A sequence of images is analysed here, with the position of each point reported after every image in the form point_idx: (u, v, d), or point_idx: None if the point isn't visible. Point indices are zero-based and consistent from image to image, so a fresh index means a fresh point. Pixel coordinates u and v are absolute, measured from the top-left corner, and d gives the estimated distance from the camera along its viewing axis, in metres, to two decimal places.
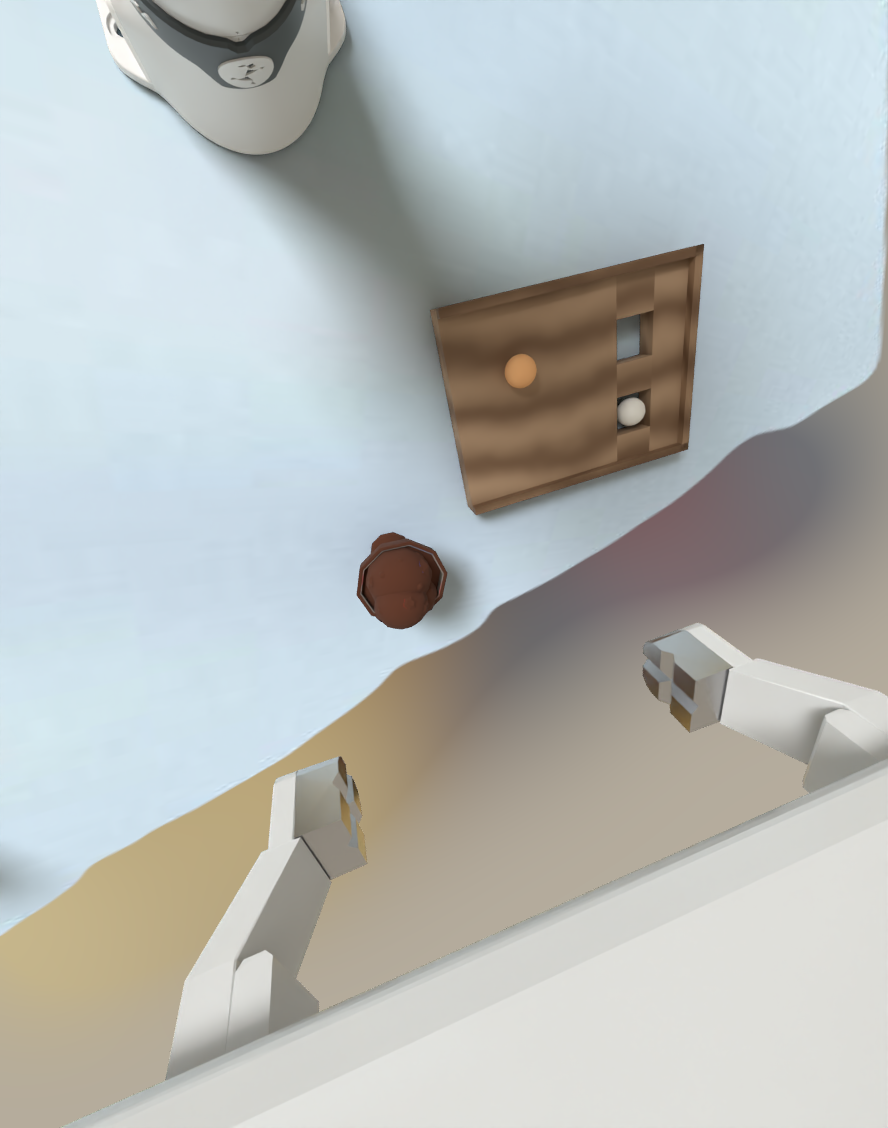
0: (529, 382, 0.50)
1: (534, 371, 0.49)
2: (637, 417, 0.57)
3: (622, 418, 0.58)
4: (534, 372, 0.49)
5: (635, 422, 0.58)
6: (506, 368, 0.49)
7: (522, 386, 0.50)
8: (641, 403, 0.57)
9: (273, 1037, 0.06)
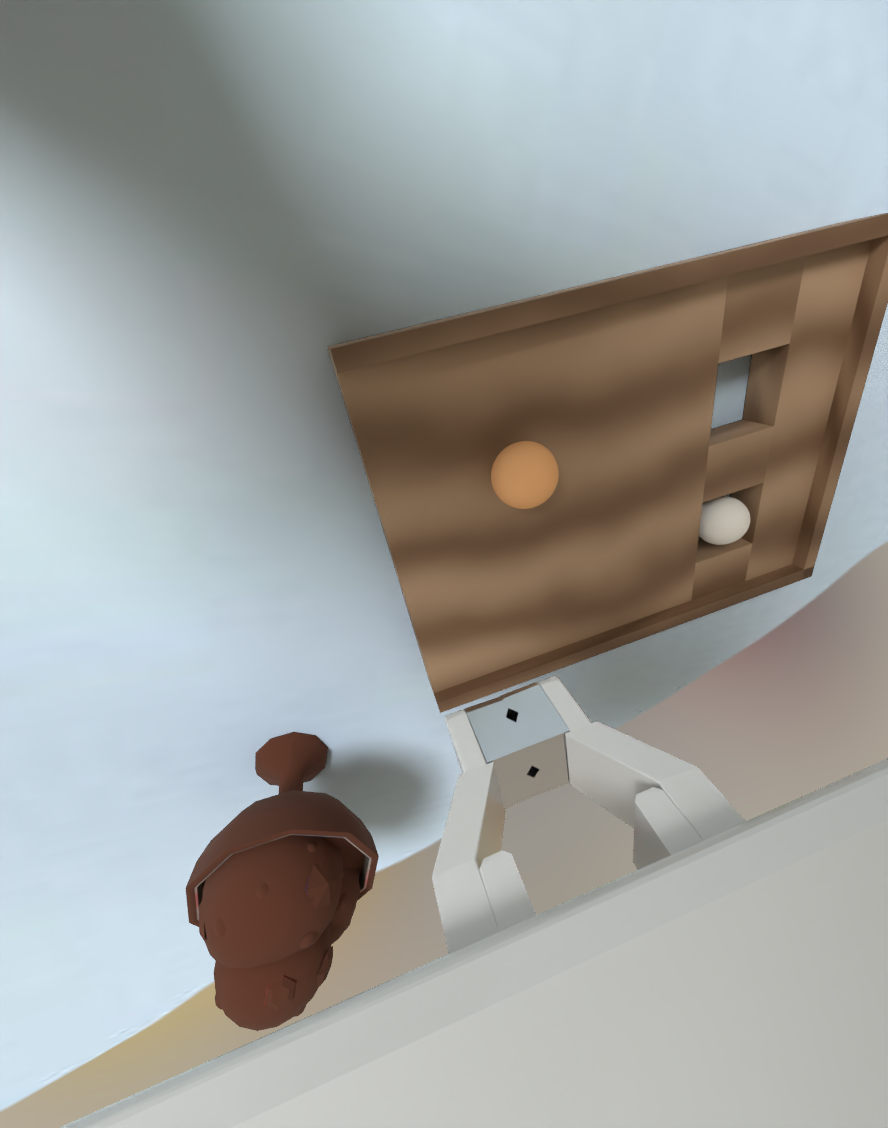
0: (543, 501, 0.23)
1: (554, 480, 0.23)
2: (736, 535, 0.31)
3: (706, 534, 0.32)
4: (554, 482, 0.23)
5: (731, 542, 0.32)
6: (494, 471, 0.23)
7: (528, 508, 0.24)
8: (745, 510, 0.31)
9: (273, 1037, 0.06)
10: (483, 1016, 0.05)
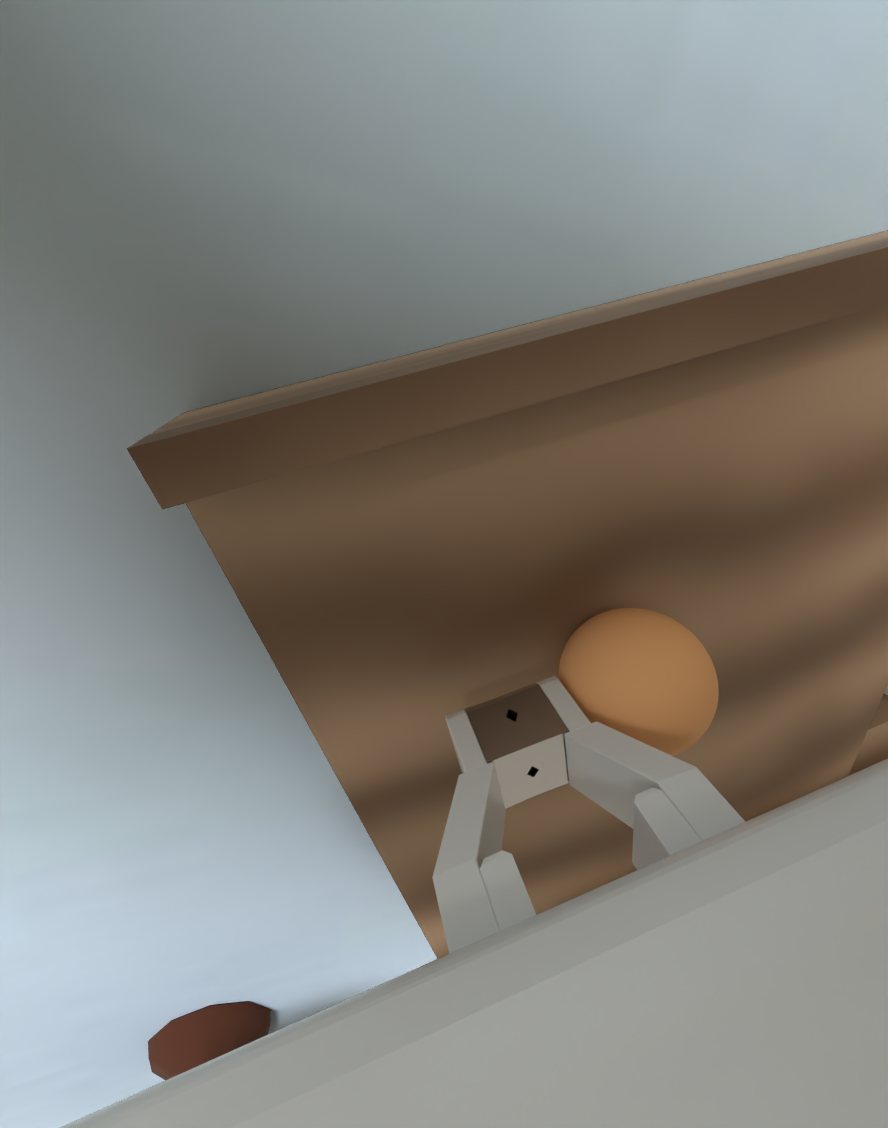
0: None
1: (714, 713, 0.10)
2: None
3: None
4: None
5: None
6: (571, 682, 0.10)
7: None
8: None
9: (273, 1037, 0.06)
10: (483, 1016, 0.05)
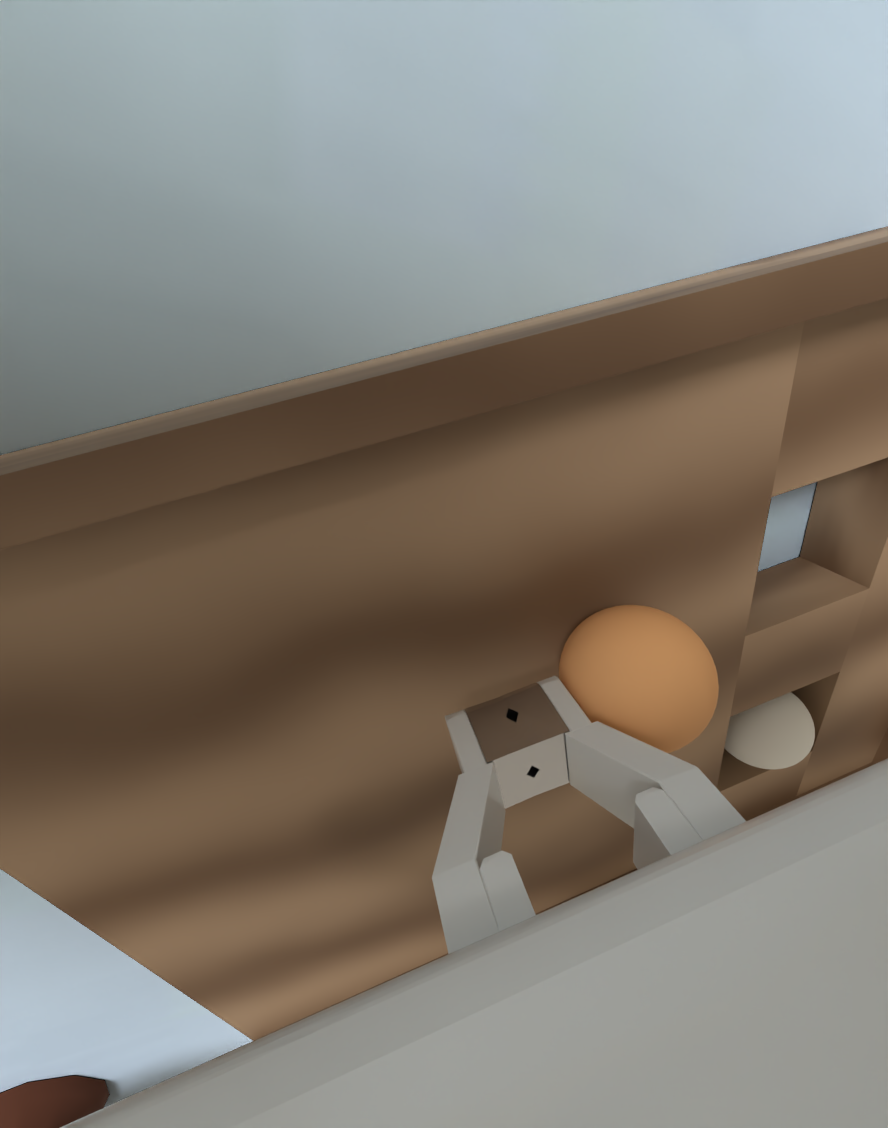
0: None
1: None
2: (791, 765, 0.17)
3: (736, 752, 0.18)
4: None
5: None
6: None
7: None
8: (807, 721, 0.17)
9: (273, 1037, 0.06)
10: (483, 1016, 0.05)
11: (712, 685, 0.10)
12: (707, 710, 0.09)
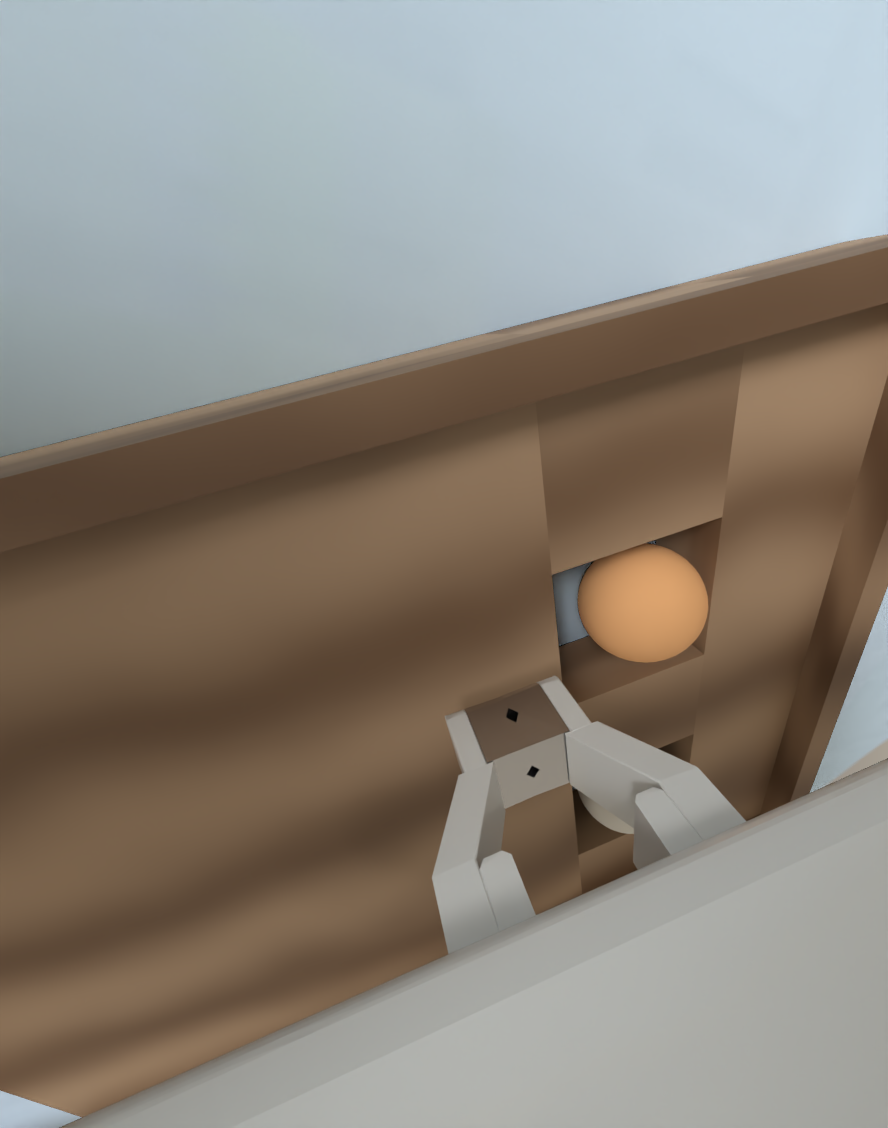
0: None
1: None
2: None
3: (593, 815, 0.17)
4: None
5: None
6: None
7: None
8: None
9: (273, 1037, 0.06)
10: (483, 1016, 0.05)
11: (651, 621, 0.12)
12: (635, 633, 0.12)
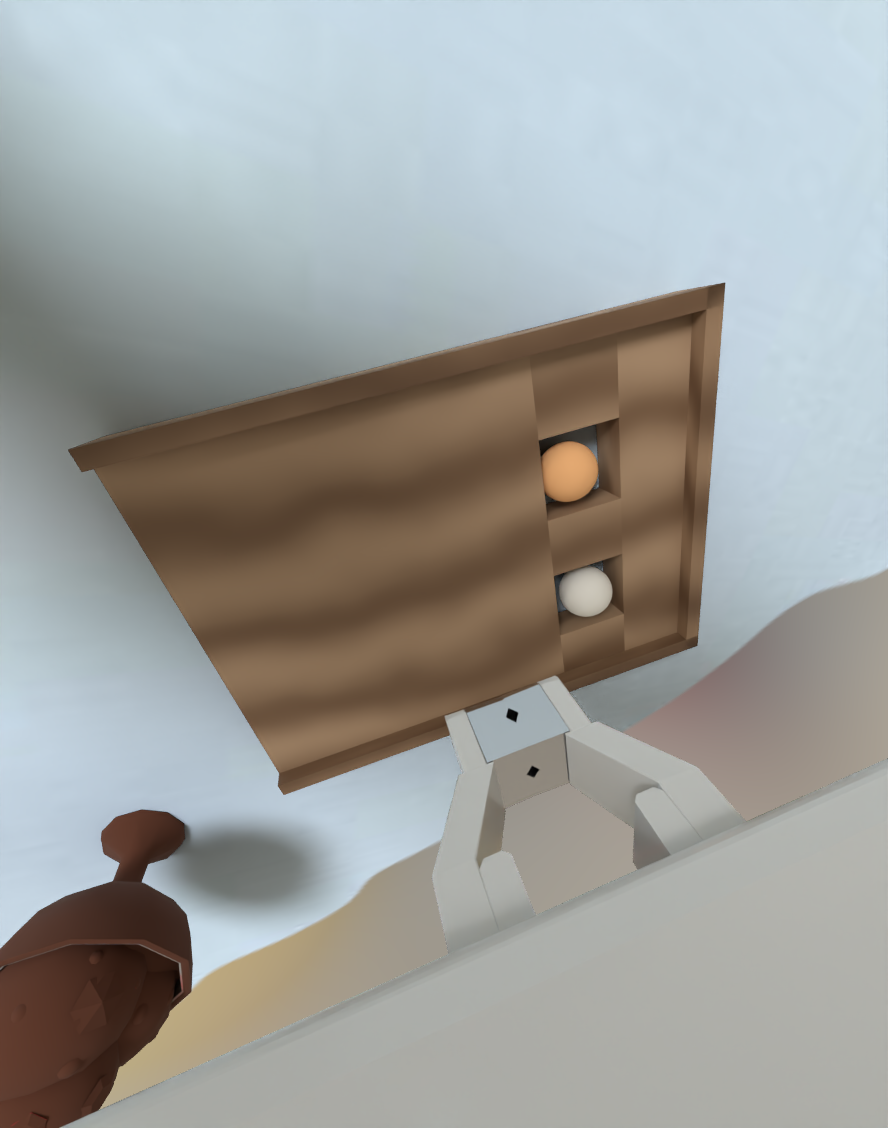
0: None
1: None
2: (595, 609, 0.30)
3: (567, 606, 0.30)
4: None
5: (593, 614, 0.30)
6: (594, 456, 0.26)
7: None
8: (603, 583, 0.29)
9: (273, 1037, 0.06)
10: (483, 1016, 0.05)
11: (548, 471, 0.25)
12: None
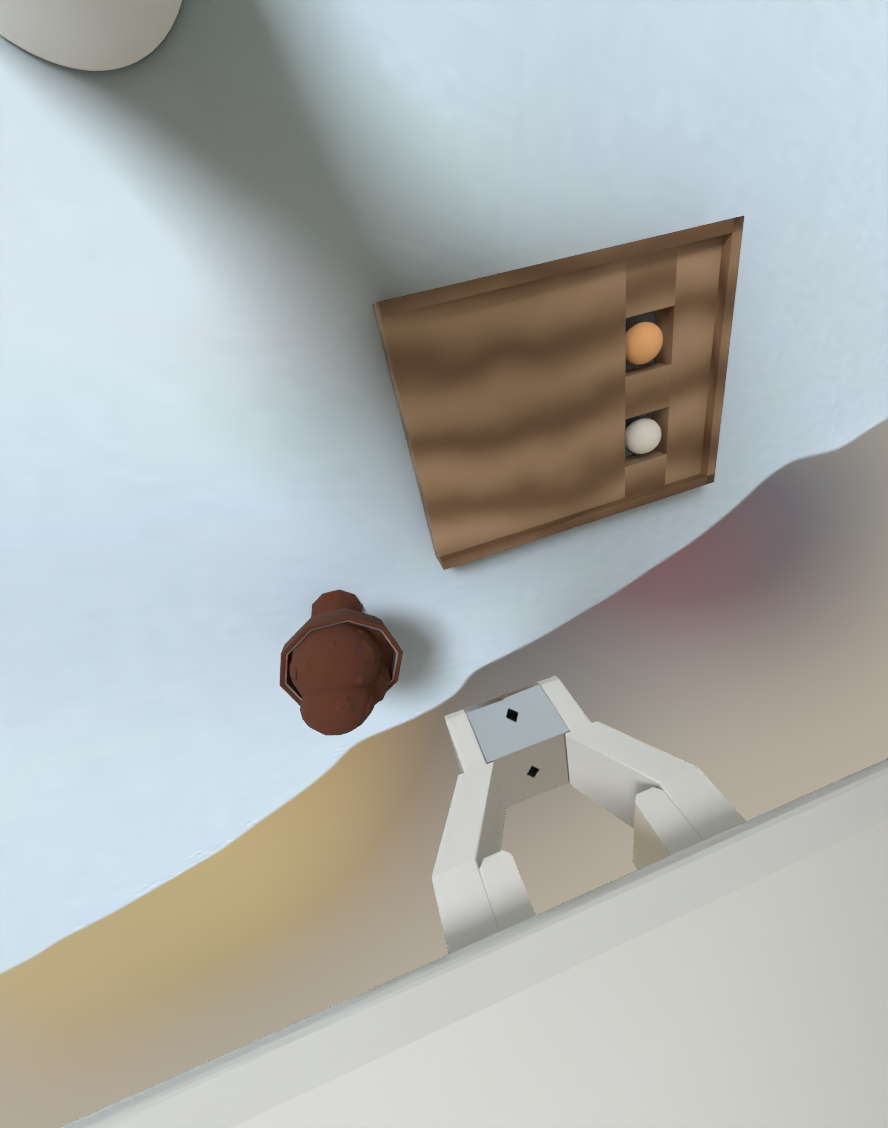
0: None
1: None
2: (651, 444, 0.45)
3: (631, 444, 0.45)
4: None
5: (648, 450, 0.45)
6: None
7: None
8: (656, 426, 0.44)
9: (273, 1037, 0.06)
10: (483, 1016, 0.05)
11: (635, 339, 0.40)
12: (630, 344, 0.40)
